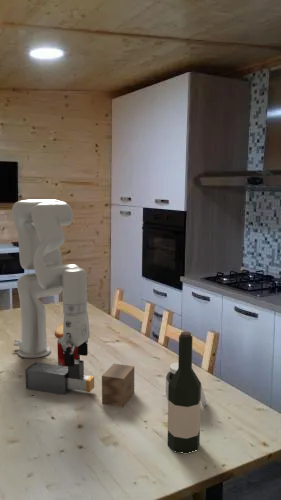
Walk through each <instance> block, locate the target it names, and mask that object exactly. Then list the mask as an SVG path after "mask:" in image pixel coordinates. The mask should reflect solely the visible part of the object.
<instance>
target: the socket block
mask: <svg viewBox="0 0 281 500" xmlns="http://www.w3.org/2000/svg"><path fill="white" fill-rule="evenodd" d="M134 394H135V366H134V365H127V364H120V363H113V364H112V365H111V366H109V368H108V369H107V370H106V371H105V372H104V373H103V374H102V375H101V404H102V405H106V406H107V405H108V406H114V407H119V408H125V406H126V405H127V403H128V402H129V401H130V399H131V398H132V397H133V395H134Z"/></svg>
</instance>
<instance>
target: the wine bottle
mask: <svg viewBox="0 0 281 500" xmlns="http://www.w3.org/2000/svg"><path fill="white" fill-rule="evenodd" d="M178 362H179V364H178V370H177V371H176V373H175V374H174V376H173V378H172V379H171V381H170V383H169V384H168V399H167V447H168V448H169V449H170V450H172V451H173V450H174V451H176V452H175V453H177V452H183V453H189V452H192V451H195V450H197V449H199V447H198V446H200V440H201V439H200V437H201V436H200V435H201V432H200V431H201V405H202V403H201V386H202V382H201V381H200V378H198V376H197V374H196V372H195V371H194V369H193V335H192V333H191V332H190V331H181V332H180V334H179V336H178ZM174 451H173V452H174ZM197 451H198V450H197ZM195 452H196V451H195ZM183 453H182V454H183ZM192 453H193V452H192ZM189 454H190V453H189Z"/></svg>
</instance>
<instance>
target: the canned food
mask: <svg viewBox="0 0 281 500" xmlns="http://www.w3.org/2000/svg"><path fill="white" fill-rule="evenodd" d="M62 341H63V337H61V338H57V342H56V343H57V365H59V366H65V365H64V353H63V350H62V345H61V343H62ZM70 344H72V343H70ZM68 347H69V346H68ZM69 349H70V350H71V347H69ZM73 354H74V360H81V355H78V347H76V346H75V348H74V351H73ZM66 367H68V366H66Z"/></svg>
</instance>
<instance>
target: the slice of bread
mask: <svg viewBox="0 0 281 500" xmlns="http://www.w3.org/2000/svg"><path fill="white" fill-rule="evenodd" d="M54 336H55V338H57V339H59V338H61V337H63V322H61V323H60V324H58V325H57V326H56V329H55V331H54Z"/></svg>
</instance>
